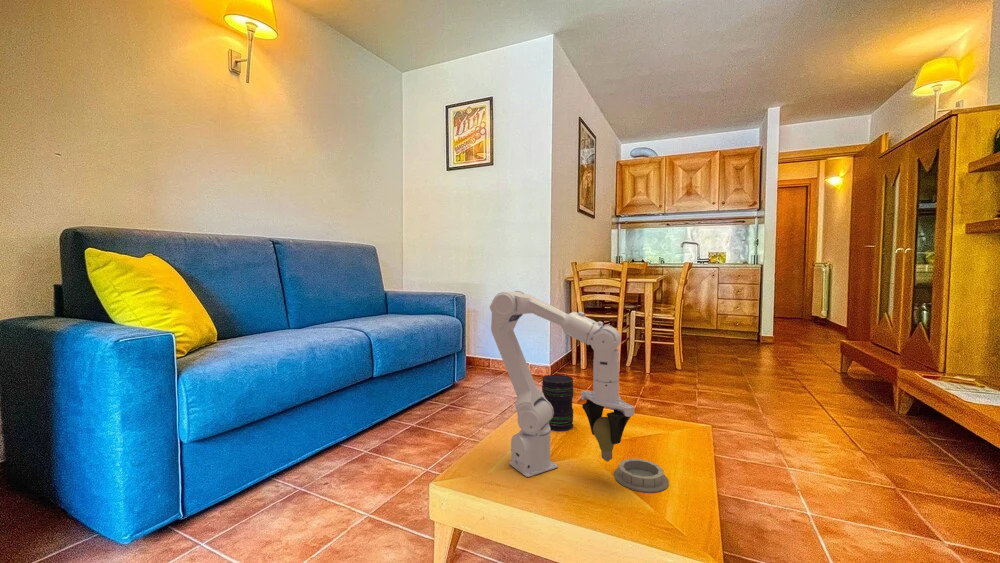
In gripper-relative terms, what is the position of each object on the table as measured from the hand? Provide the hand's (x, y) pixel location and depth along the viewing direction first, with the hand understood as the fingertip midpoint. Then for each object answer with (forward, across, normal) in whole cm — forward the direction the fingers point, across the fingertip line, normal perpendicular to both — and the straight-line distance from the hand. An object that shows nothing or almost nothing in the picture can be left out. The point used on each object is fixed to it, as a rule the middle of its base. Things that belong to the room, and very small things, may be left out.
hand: (605, 438), depth 92 cm
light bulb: (+5, 0, 0) cm, 5 cm away
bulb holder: (+10, -3, -8) cm, 13 cm away
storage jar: (+10, +33, -13) cm, 37 cm away
